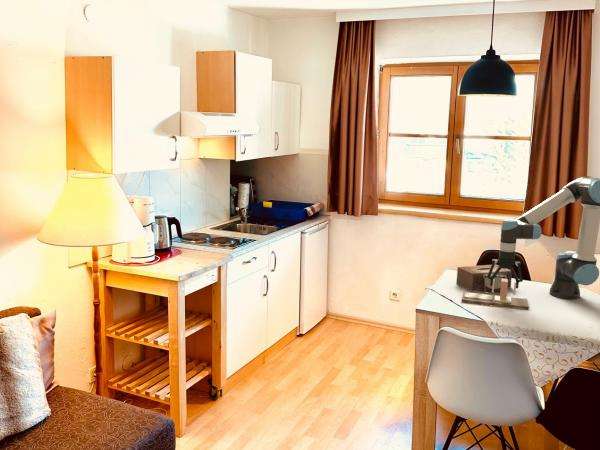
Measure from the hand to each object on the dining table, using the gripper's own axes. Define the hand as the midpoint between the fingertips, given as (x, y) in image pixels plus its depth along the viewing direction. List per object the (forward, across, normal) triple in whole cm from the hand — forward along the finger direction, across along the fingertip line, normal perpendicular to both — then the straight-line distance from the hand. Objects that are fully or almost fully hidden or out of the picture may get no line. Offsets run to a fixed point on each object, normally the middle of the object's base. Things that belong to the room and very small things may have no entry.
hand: (503, 293), depth 306 cm
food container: (+5, +5, -20) cm, 21 cm away
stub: (+4, 0, 0) cm, 4 cm away
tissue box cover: (+6, +10, -30) cm, 32 cm away
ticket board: (+5, +4, 0) cm, 7 cm away
